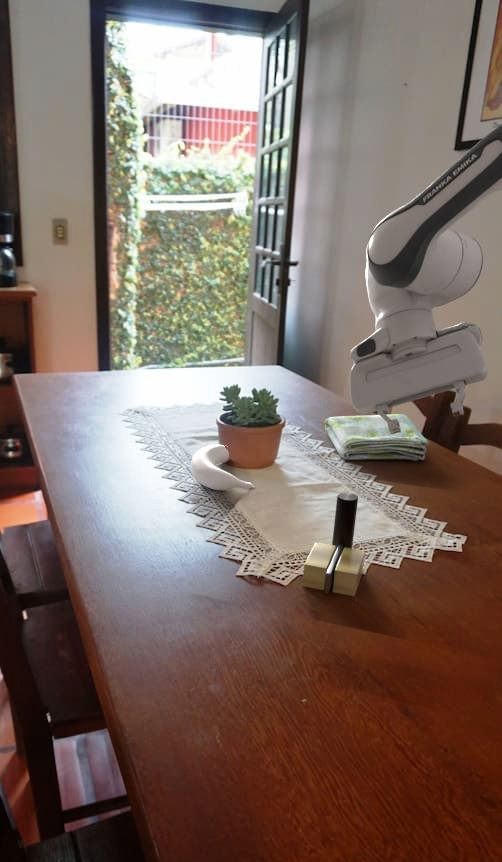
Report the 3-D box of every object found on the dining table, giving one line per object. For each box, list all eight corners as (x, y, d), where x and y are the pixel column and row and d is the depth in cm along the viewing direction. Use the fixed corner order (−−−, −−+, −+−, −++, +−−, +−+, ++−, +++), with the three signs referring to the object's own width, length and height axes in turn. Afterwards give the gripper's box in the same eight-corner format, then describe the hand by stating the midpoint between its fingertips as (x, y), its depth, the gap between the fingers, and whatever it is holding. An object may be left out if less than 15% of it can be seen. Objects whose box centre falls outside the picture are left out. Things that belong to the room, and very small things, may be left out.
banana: (209, 454, 140) (279, 464, 136) (176, 492, 124) (254, 504, 120) (209, 432, 138) (280, 441, 134) (176, 467, 121) (255, 479, 118)
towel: (341, 462, 138) (343, 438, 136) (323, 430, 158) (325, 409, 156) (429, 464, 139) (433, 440, 137) (400, 432, 159) (403, 410, 157)
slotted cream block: (319, 528, 110) (321, 502, 108) (388, 540, 106) (392, 514, 105) (282, 598, 90) (285, 568, 88) (367, 615, 86) (371, 584, 85)
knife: (332, 554, 98) (339, 490, 94) (351, 558, 98) (359, 494, 94) (315, 593, 88) (322, 523, 84) (336, 598, 88) (344, 527, 84)
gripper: (479, 326, 104) (501, 409, 101) (351, 368, 113) (367, 446, 109) (474, 309, 99) (496, 396, 95) (339, 354, 107) (355, 436, 104)
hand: (426, 423), depth 102 cm, fingers open, 8 cm apart
